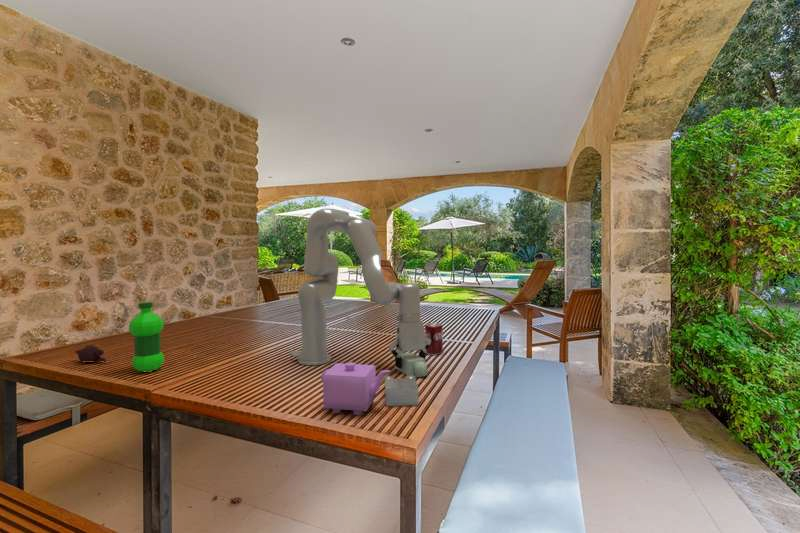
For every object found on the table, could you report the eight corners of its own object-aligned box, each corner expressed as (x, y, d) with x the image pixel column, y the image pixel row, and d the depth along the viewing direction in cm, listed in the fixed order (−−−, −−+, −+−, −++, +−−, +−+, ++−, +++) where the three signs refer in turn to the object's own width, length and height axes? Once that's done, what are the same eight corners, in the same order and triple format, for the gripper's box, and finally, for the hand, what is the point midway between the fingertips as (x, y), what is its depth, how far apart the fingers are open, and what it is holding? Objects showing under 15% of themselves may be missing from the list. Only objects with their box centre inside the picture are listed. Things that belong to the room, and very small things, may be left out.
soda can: (444, 351, 162) (444, 323, 162) (440, 356, 156) (440, 326, 155) (427, 350, 165) (427, 322, 164) (423, 354, 158) (422, 325, 157)
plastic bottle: (157, 364, 148) (154, 300, 147) (170, 369, 142) (167, 302, 141) (127, 371, 140) (123, 303, 138) (139, 377, 134) (136, 305, 132)
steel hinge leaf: (386, 406, 108) (386, 388, 108) (384, 389, 120) (384, 373, 120) (418, 405, 109) (418, 387, 108) (413, 388, 121) (413, 373, 121)
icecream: (63, 348, 149) (92, 354, 145) (82, 339, 156) (111, 344, 152) (67, 363, 151) (96, 369, 148) (87, 354, 158) (115, 359, 154)
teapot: (314, 413, 104) (313, 367, 103) (328, 398, 114) (327, 356, 113) (387, 418, 100) (386, 371, 100) (394, 403, 110) (394, 359, 110)
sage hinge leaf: (415, 380, 129) (415, 365, 128) (395, 368, 141) (395, 354, 141) (432, 376, 132) (432, 362, 132) (410, 365, 144) (410, 352, 144)
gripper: (393, 322, 130) (394, 372, 131) (435, 317, 138) (436, 364, 139) (383, 319, 136) (384, 366, 137) (424, 314, 145) (425, 358, 146)
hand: (410, 365), depth 138 cm, fingers open, 9 cm apart
